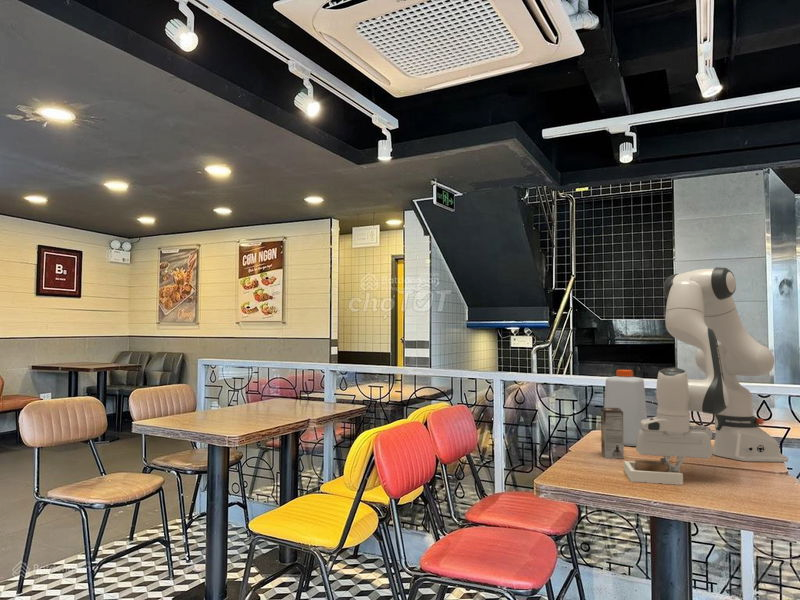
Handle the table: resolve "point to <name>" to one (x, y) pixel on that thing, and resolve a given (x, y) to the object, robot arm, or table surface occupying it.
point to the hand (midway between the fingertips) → (673, 471)
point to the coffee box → (612, 433)
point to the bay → (652, 475)
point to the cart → (652, 465)
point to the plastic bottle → (627, 402)
